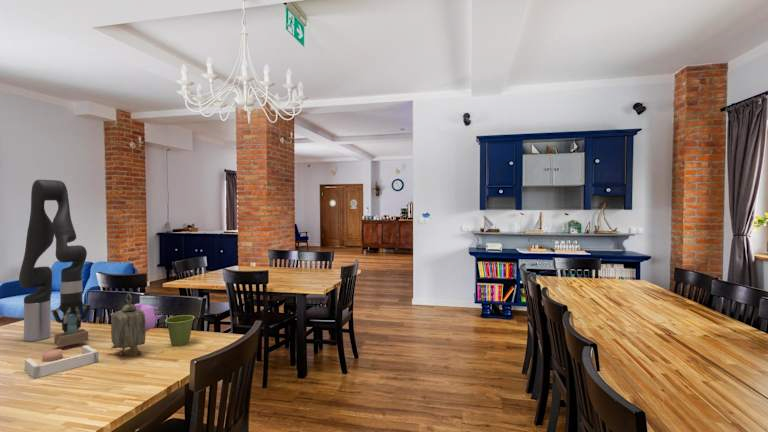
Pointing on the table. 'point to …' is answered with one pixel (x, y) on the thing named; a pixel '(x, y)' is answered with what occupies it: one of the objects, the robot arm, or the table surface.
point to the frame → (62, 363)
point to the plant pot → (180, 329)
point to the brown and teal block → (71, 334)
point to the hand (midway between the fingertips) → (71, 330)
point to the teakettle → (148, 315)
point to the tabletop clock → (128, 327)
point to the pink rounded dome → (52, 355)
